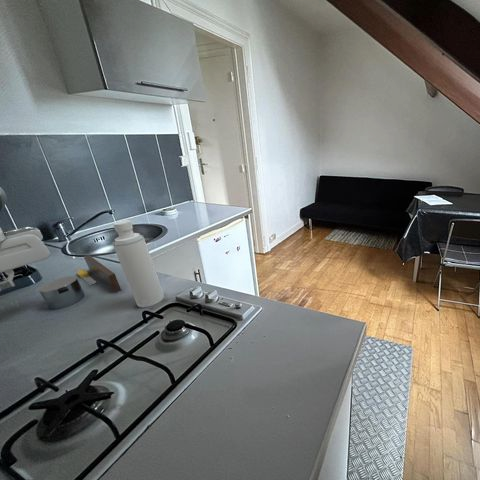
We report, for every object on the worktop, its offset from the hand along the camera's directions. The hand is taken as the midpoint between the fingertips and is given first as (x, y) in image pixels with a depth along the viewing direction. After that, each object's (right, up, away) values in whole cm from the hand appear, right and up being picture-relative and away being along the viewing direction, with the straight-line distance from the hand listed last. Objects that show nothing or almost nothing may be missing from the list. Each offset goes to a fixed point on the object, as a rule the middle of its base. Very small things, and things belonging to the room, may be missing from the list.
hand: (6, 288), depth 66 cm
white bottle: (+32, -5, +8) cm, 33 cm away
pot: (+6, -6, +10) cm, 13 cm away
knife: (0, -1, +23) cm, 23 cm away
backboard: (+8, -1, +21) cm, 22 cm away
